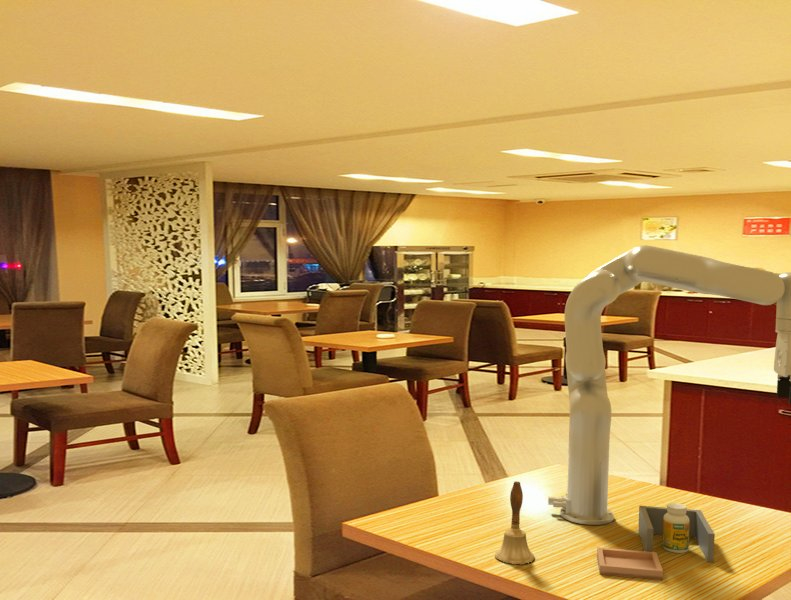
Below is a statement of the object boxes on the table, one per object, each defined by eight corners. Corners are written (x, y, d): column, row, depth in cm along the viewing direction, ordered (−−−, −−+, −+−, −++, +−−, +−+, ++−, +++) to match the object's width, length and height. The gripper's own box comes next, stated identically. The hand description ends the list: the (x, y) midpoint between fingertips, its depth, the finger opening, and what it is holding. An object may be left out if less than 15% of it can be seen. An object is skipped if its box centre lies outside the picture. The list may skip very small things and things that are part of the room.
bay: (646, 556, 166) (647, 528, 166) (638, 531, 182) (639, 505, 181) (713, 562, 164) (714, 534, 163) (699, 536, 179) (700, 510, 179)
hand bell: (492, 549, 169) (494, 476, 168) (531, 550, 169) (533, 477, 168) (496, 564, 161) (498, 487, 160) (537, 565, 160) (539, 488, 160)
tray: (599, 574, 157) (600, 565, 156) (596, 555, 166) (597, 547, 166) (662, 580, 154) (663, 571, 154) (656, 560, 164) (656, 552, 164)
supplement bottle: (679, 543, 174) (680, 501, 174) (693, 552, 169) (695, 509, 168) (657, 545, 173) (659, 502, 172) (671, 554, 168) (672, 510, 167)
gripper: (766, 323, 189) (762, 393, 190) (787, 329, 172) (784, 407, 173) (799, 324, 187) (796, 395, 188) (824, 330, 170) (821, 409, 171)
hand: (790, 400), depth 180 cm, fingers open, 9 cm apart
